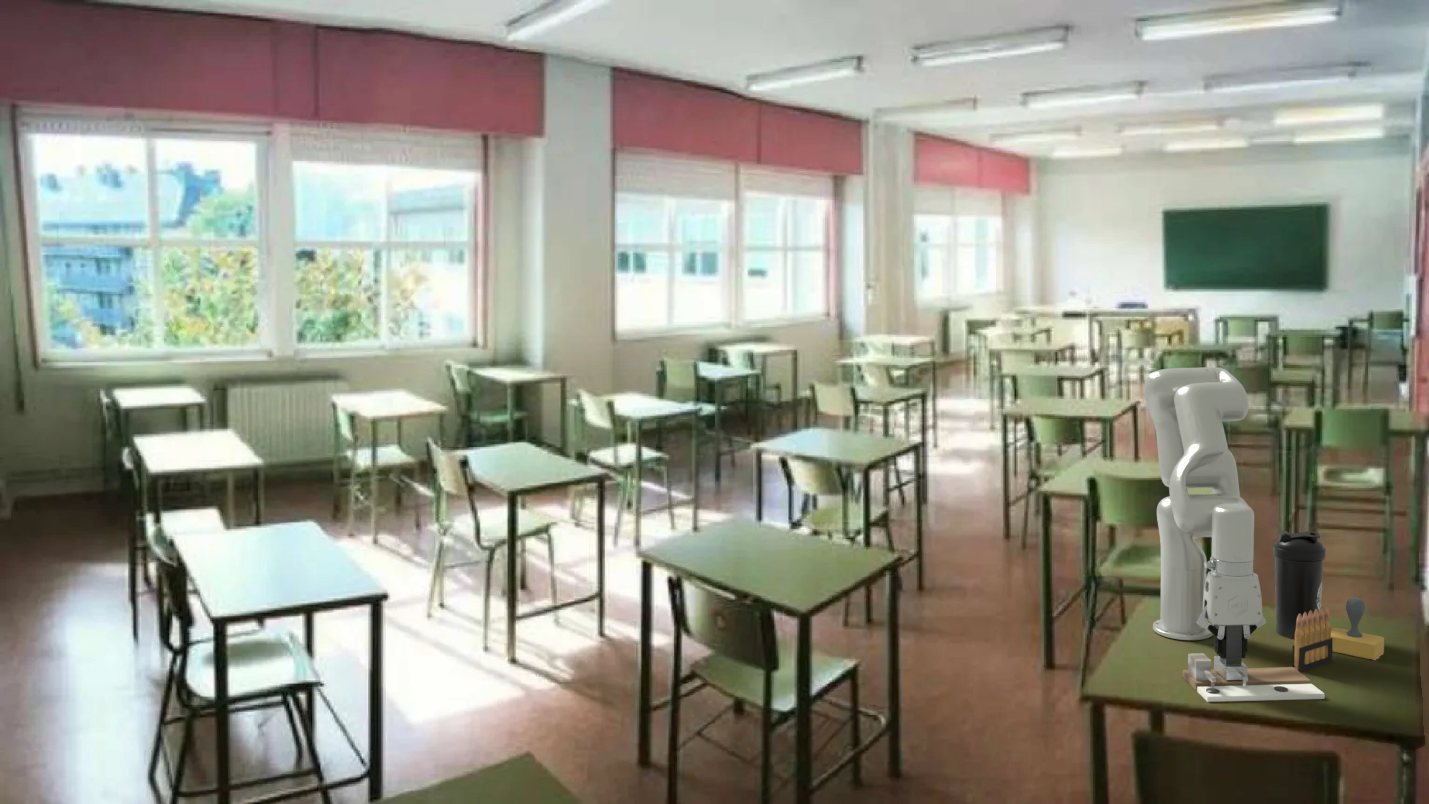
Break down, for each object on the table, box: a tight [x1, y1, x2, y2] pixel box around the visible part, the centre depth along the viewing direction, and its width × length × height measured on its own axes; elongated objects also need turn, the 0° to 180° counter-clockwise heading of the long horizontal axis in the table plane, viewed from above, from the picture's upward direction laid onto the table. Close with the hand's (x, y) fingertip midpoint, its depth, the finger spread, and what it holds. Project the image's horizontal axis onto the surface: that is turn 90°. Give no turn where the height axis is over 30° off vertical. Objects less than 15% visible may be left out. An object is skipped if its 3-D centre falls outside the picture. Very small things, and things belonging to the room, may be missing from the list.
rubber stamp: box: [1331, 596, 1385, 661], centre depth 232 cm, size 10×6×12 cm, turn 43°
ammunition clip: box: [1291, 605, 1334, 673], centre depth 225 cm, size 11×2×12 cm, turn 117°
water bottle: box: [1272, 530, 1327, 640], centre depth 243 cm, size 10×10×23 cm
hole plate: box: [1196, 683, 1326, 703], centre depth 212 cm, size 5×22×1 cm, turn 88°
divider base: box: [1182, 652, 1311, 692], centre depth 217 cm, size 10×22×6 cm, turn 88°
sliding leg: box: [1213, 625, 1248, 687], centre depth 216 cm, size 10×4×11 cm, turn 178°
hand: (1230, 655), depth 218 cm, fingers closed on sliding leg, 3 cm apart
